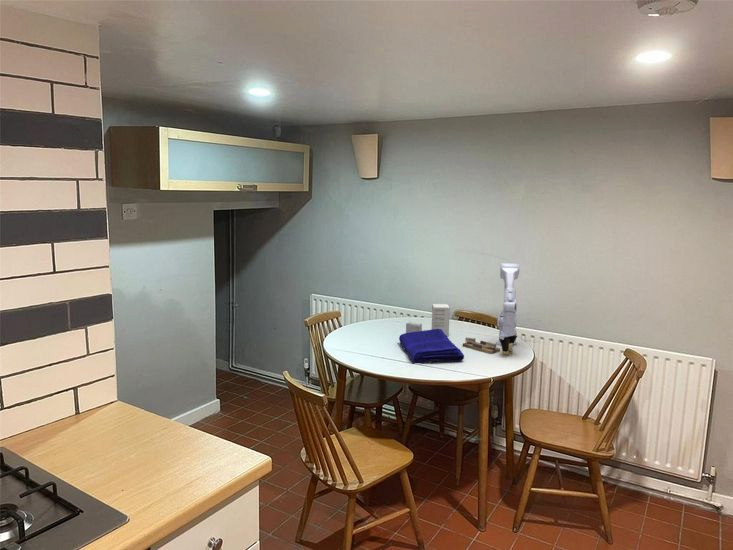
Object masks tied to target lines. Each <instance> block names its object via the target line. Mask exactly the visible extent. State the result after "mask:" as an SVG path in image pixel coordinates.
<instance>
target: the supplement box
mask: <svg viewBox="0 0 733 550" xmlns="http://www.w3.org/2000/svg"><path fill="white" fill-rule="evenodd" d="M431 305H432V306H431V330H433V329H442V331H443V332H444V333H445V334H446V335H447V336H448V337H449V335H450V314H451V312H450V309H451V308H450V306H449V305H448V303H433V304H431Z"/></svg>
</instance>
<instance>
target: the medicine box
mask: <svg viewBox="0 0 733 550" xmlns="http://www.w3.org/2000/svg"><path fill="white" fill-rule="evenodd" d="M417 331H423V324H422V323H420V322H413V321H408V322H407V323H405V333H409V332H417Z"/></svg>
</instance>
